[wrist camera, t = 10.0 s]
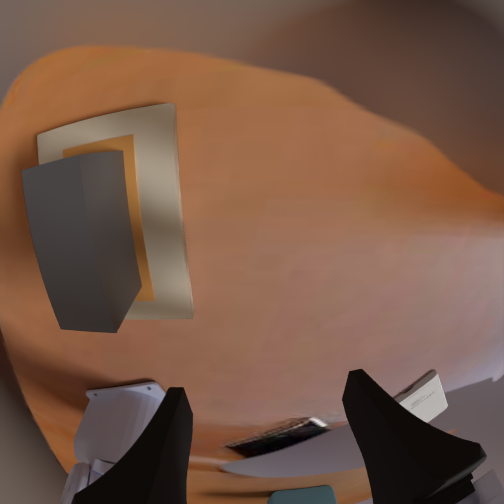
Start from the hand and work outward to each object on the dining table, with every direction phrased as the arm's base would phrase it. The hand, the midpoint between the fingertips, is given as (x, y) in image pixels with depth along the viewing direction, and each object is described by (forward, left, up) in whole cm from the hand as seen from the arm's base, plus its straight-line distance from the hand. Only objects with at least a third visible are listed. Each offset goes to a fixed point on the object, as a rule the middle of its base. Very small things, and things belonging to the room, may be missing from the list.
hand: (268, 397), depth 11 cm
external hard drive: (+15, -26, -10) cm, 32 cm away
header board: (-7, +8, -9) cm, 14 cm away
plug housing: (-7, +8, -8) cm, 14 cm away
